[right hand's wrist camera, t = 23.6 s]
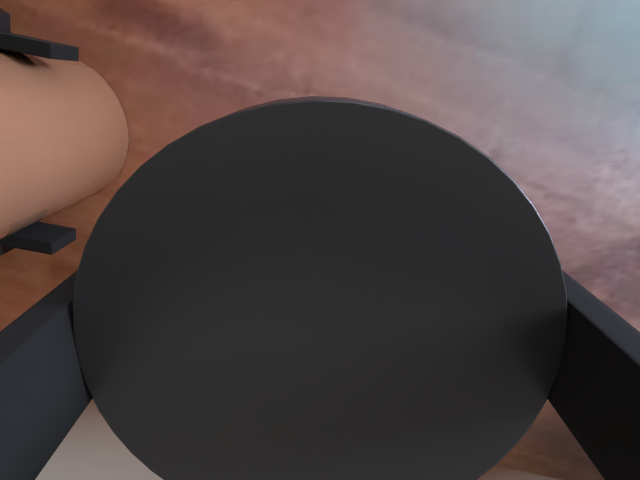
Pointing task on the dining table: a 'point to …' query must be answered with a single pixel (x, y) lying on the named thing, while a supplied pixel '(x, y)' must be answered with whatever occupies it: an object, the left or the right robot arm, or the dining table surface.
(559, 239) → the dining table surface
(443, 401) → the lid
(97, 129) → the jar
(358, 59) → the dining table surface
